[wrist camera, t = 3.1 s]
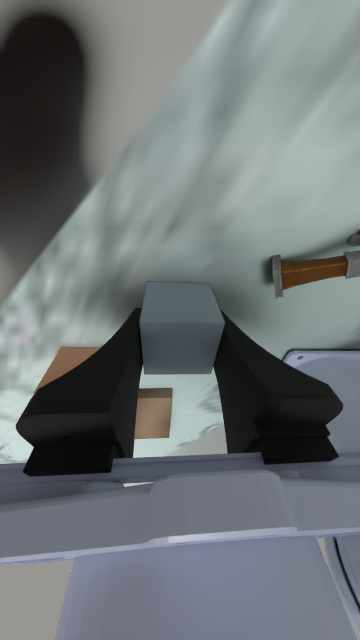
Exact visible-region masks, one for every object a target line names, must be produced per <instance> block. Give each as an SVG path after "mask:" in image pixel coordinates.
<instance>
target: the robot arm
mask: <svg viewBox="0 0 360 640" xmlns="http://www.w3.org/2000/svg"><path fill="white" fill-rule="evenodd" d="M141 311H142V308H135V309H134V311H133V312H132V313H131V315H130V316H129V318H128V319H127V320H126V322H125V323H124V324H123V325H122V326H121V328H120V329H119V330H118V331H117V332H116V333H115V334H114V335H113V336H112V338H111V339H110V340H109V341H108V342H107V343H105V344H104V345H103V346H102V347H101V348H100V349H99V350H98V351H96V352H95V353H94V354H93V355H91V356H90V357H89V358H87V359H86V360H85V361H84V362H82V363H81V364H79V365H78V366H76V367H75V368H73V369H72V370H70V371H68V372H67V373H65V374H64V375H62V376H60V377H58V378H57V379H55V380H53V381H51V382H49V383H48V384H46V385H44V386H42V387H40V388H38V390H37V391H36V393H35V394H34V396H33V397H32V398H31V400H30V402H29V403H28V405H27V407H26V408H25V410H24V412H23V413H22V415H21V417H20V418H19V420H18V422H17V424H16V430H17V432H18V433H19V434H20V435H21V436H22V437H23V438H24V439H25V440H26V441H28V442H29V443H30V444H31V445H32V446H33V447H34V448H33V451H32V453H31V455H30V457H29V459H28V461H27V463H11V464H0V566H4V565H17V564H28V563H41V562H52V561H65V560H73V564H72V567H71V572H70V576H69V580H68V584H67V588H66V592H65V597H64V601H63V605H62V609H61V613H60V617H59V621H58V626H57V630H56V634H55V638H54V640H357V638H356V635H355V633H354V630H353V628H352V625H351V623H350V621H349V618H348V615H347V613H348V614H349V616H350V618H351V620H352V622H353V624H354V626H355V628H356V629H357V631H358V633H359V635H360V351H292V352H290V353H288V355H287V356H286V358H285V359H284V361H281V360H280V359H278V358H277V357H275V356H273V355H272V354H270V353H269V352H267V351H266V350H265V349H263V348H262V347H261V346H259V345H258V344H257V343H255V342H254V341H253V340H252V339H250V338H249V337H248V336H247V335H246V334H245V333H244V332H242V331H241V330H240V329H239V328H238V327H237V326H236V325H235V324H234V323H233V322H232V321H231V320H230V319H229V318H228V317H227V316H226V315H225V314H224V313H223V312H222V311H221V310H220V311H221V314H222V316H223V319H224V321H225V325H224V328H223V332H222V336H221V339H220V343H219V346H218V350H217V354H216V357H215V361H214V365H213V367H214V370H215V374H216V378H217V382H218V387H219V393H220V399H221V405H222V411H223V419H224V426H225V433H226V442H227V452H228V454H214V455H213V454H211V455H190V456H169V457H168V456H166V457H144V458H133V450H134V436H135V424H136V412H137V401H138V391H139V382H140V376H141V371H142V366H143V355H142V343H141V332H140V316H141ZM142 482H155V483H149V484H143V485H135V486H128V487H124V485H123V484H126V483H142ZM316 538H324V544H325V551H326V556H327V560H328V564H329V568H330V571H331V574H332V576H331V574H330V571H329V569H328V566H327V564H326V562H325V559H324V557H323V555H322V552H321V549H320V547H319V544H318V542H317V540H316ZM332 577H333V579H332ZM333 580H334V581H333ZM334 583H335V584H334ZM335 585H336V586H335ZM337 590H338V591H337ZM339 595H340V596H339ZM340 597H341V598H340ZM341 600H342V601H341ZM342 602H343V603H342ZM343 604H344V606H345V608H346V610H347V613H346V611H345V608H344V606H343Z"/></svg>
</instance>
